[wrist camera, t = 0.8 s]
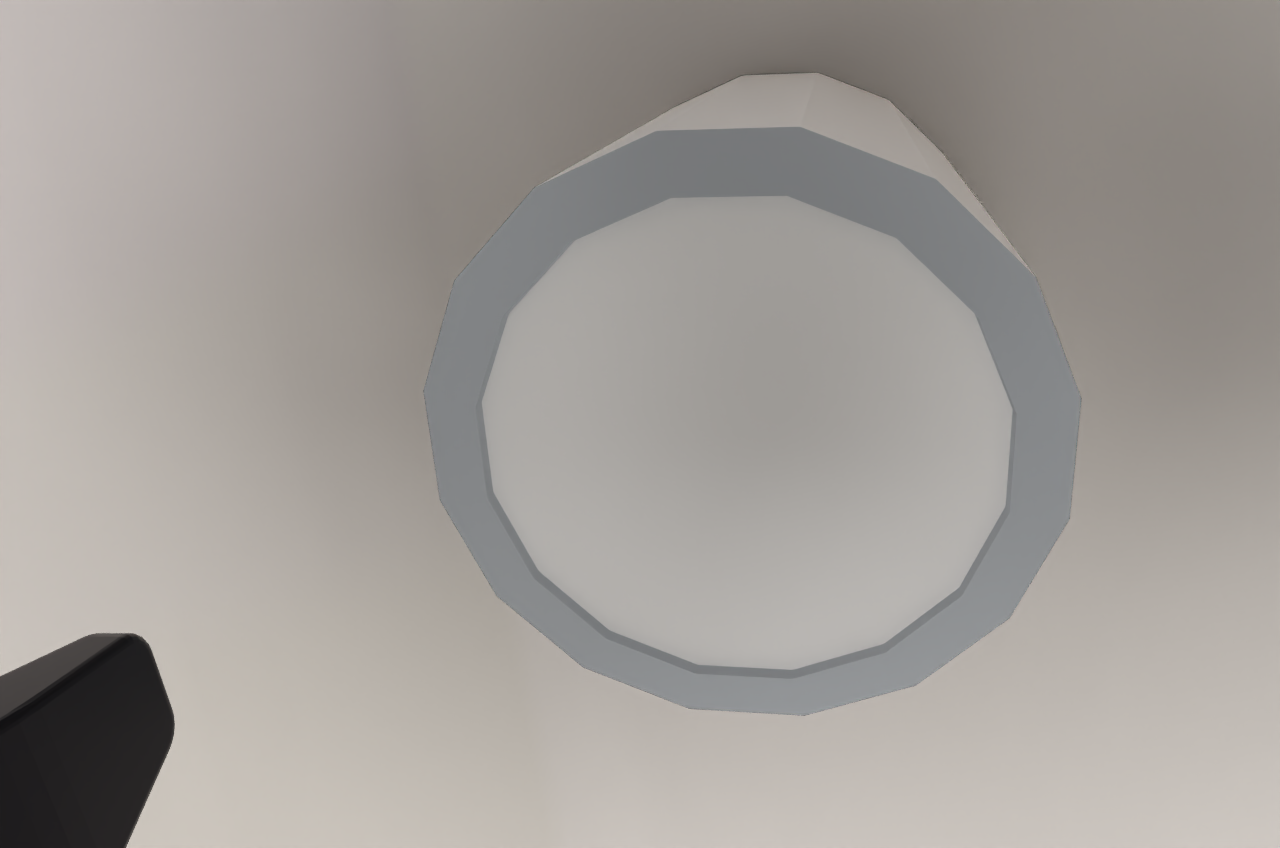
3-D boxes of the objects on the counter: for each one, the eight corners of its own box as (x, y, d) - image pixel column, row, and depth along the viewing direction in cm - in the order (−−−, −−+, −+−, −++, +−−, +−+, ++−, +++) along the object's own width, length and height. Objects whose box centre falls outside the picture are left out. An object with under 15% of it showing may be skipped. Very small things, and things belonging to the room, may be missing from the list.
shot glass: (513, 88, 18) (327, 209, 12) (975, -30, 17) (1037, 43, 10) (629, 482, 21) (525, 750, 15) (1040, 418, 19) (1120, 691, 13)
